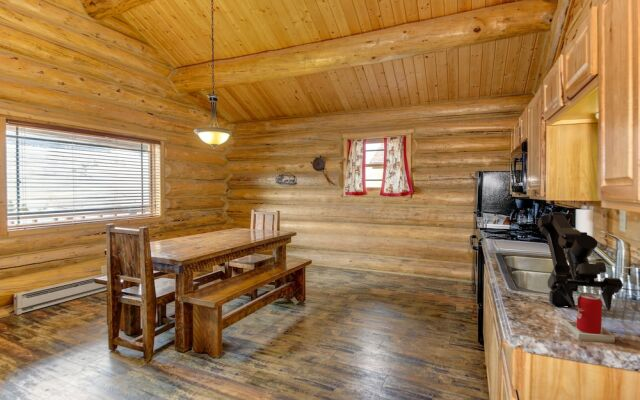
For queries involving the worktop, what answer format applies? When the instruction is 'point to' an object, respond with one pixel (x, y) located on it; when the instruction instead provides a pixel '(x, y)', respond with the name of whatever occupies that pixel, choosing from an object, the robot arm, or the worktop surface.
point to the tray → (602, 337)
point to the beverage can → (589, 313)
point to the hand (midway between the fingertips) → (591, 308)
